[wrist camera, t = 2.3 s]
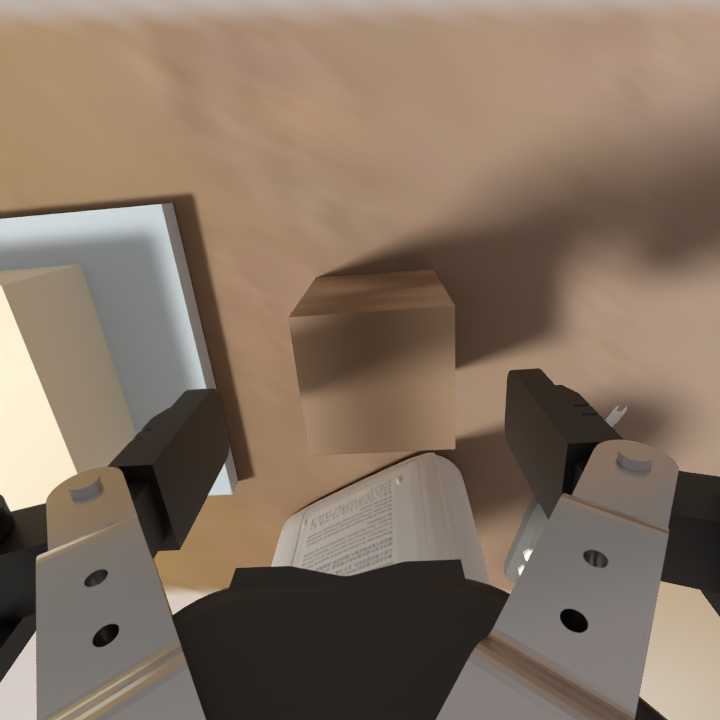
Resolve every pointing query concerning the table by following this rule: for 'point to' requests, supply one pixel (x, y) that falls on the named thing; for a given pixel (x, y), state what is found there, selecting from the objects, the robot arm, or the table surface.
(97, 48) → the table surface
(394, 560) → the photo printer
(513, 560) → the key chain
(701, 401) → the table surface
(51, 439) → the butter dish
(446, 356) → the walnut block
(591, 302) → the table surface
